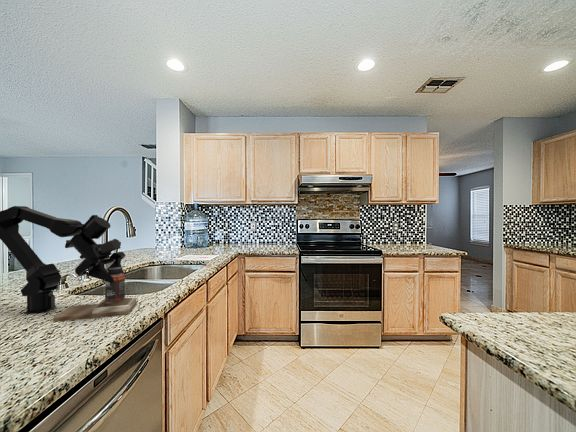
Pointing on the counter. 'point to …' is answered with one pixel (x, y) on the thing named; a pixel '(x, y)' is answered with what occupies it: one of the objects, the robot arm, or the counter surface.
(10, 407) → the counter surface
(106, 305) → the walnut board
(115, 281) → the supplement bottle
